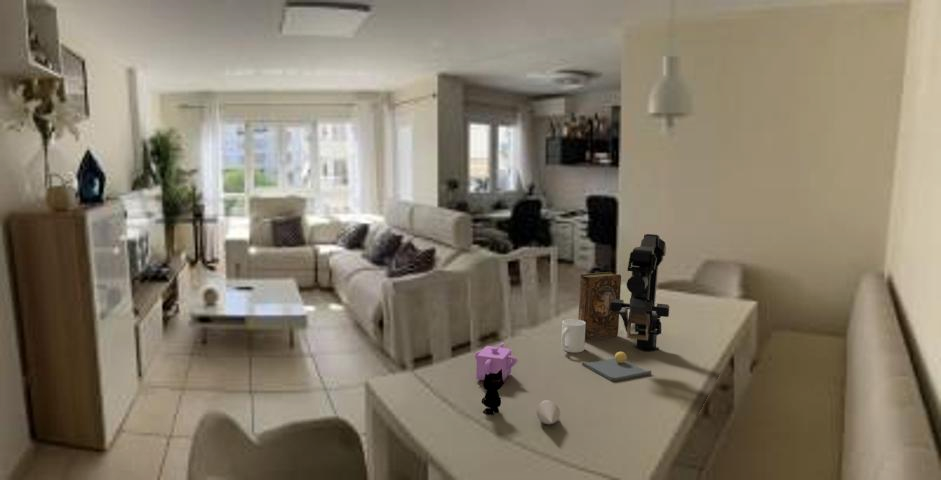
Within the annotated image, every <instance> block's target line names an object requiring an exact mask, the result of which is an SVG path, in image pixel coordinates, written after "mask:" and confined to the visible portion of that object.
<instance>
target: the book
mask: <svg viewBox="0 0 941 480" xmlns="http://www.w3.org/2000/svg"><path fill="white" fill-rule="evenodd" d="M579 277H580V278H579V280H580V281H579V300H578V301H579V302H578V320H582V321H584V322H585V323H586V326H585V342H588V341H590V342H591V341H595V340H596V341H597V340H601V339H602V340H604V339H609V338H614V337H617V336H618V335H619V328H620V326H619V324H620V314H617V311H610V310H609V309H610V303H611V301H612V300H613V299H618V300H621V287H622V275H621V274H615V273H613V271H605V272H604V271H603V272H593V273H582V274H580V276H579Z"/></svg>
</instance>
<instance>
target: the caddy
mask: <svg viewBox="0 0 941 480" xmlns="http://www.w3.org/2000/svg"><path fill="white" fill-rule="evenodd" d="M632 324H634V325H635V324H643V325H646V335H638V333H637V334H636V333H631V328H632ZM649 324H650V314H645V315H640V314H631V313H630V311H628V324H627V332H626V335H627V339H634V340H637V339H640V340H648V335H649V334H648V329H649Z"/></svg>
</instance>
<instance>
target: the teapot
mask: <svg viewBox="0 0 941 480" xmlns="http://www.w3.org/2000/svg"><path fill="white" fill-rule="evenodd" d="M504 344H505V343H504V341H502V342H500V343H499V346H498V347H497V346H491V345H486V346H485V347H483V348H482V349H481V350H477V352H476V353H475V354H474V358H475V361H476V371H475V372H476V373H475V374H476V376H475V377H476V378H475V379H476V380H481V381H483V379H485V373H486V374H487V375H488V374H489V373H496V374H497V373H498V372H499V371H500V370H501V369H502V378H503V381H504V382H505V381H506V379H507V378H508V376H509V375H510V374H511V372H512V367H514V366H515V365H516V364H517V363H518V358H517V357H515V356H513V355H512V353H513V352H512V351H513V350H512V348H507V347H504Z"/></svg>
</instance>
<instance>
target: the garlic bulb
mask: <svg viewBox="0 0 941 480" xmlns="http://www.w3.org/2000/svg"><path fill="white" fill-rule="evenodd" d="M536 410H537V411H536V416H537V419H538V420H539V421H540V422H541V423H542V424H545V425H553V424H555V423H556V422H558V420H559V419H560V415H561V411H560V408H559V407H558V405H557V404H556V403H555V402H554V401H551V400H549V399H545V400H542V401H541V402H540V403H539V404H538V407H537V409H536Z"/></svg>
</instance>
